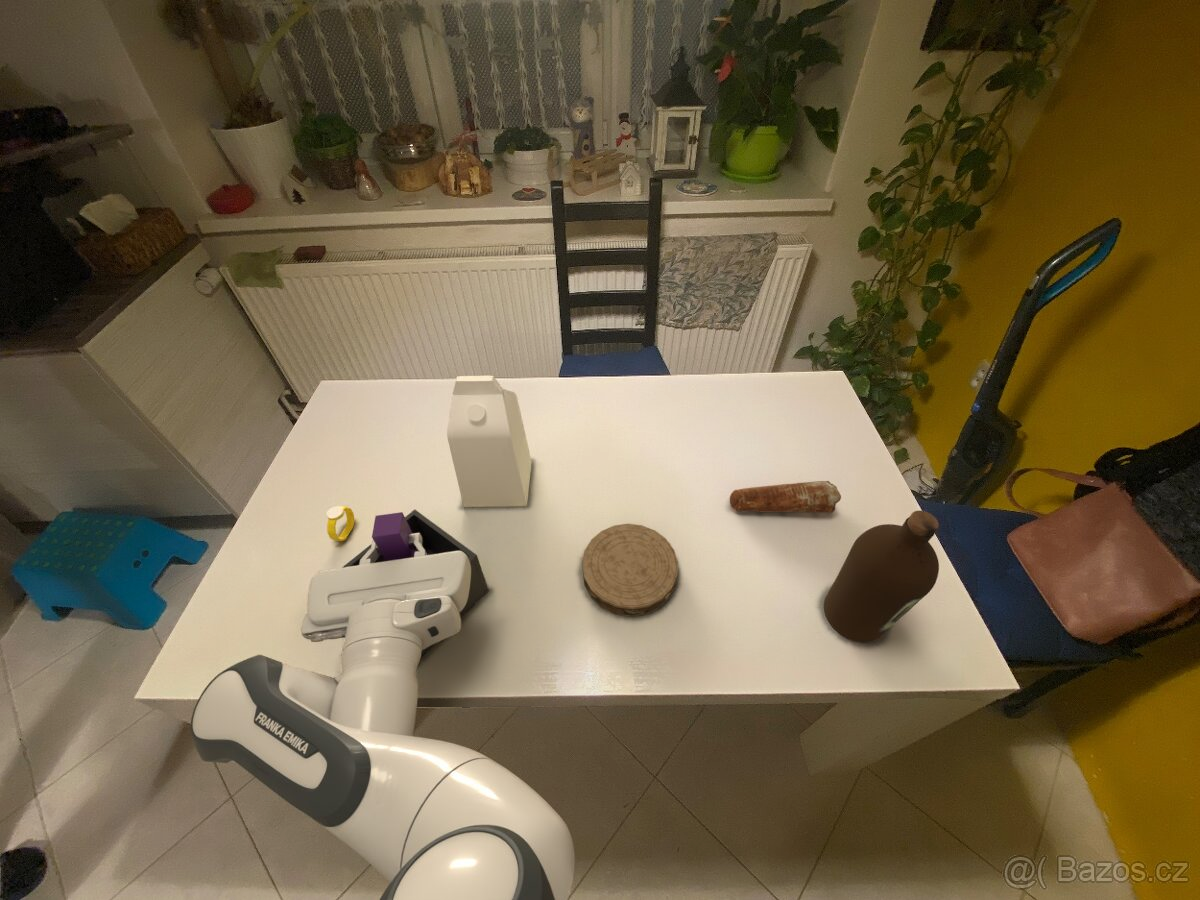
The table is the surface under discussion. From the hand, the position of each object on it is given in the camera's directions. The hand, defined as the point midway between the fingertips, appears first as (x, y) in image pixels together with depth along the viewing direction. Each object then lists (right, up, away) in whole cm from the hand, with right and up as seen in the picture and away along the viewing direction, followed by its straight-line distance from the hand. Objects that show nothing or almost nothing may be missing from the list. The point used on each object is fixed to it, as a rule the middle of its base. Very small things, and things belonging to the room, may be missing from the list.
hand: (398, 538), depth 72 cm
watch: (-17, -3, +20) cm, 27 cm away
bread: (+63, +1, +23) cm, 67 cm away
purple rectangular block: (0, -4, +3) cm, 6 cm away
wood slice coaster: (+34, -8, +14) cm, 38 cm away
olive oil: (+69, -14, +8) cm, 71 cm away
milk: (+9, +6, +28) cm, 30 cm away
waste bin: (0, -12, +11) cm, 16 cm away
